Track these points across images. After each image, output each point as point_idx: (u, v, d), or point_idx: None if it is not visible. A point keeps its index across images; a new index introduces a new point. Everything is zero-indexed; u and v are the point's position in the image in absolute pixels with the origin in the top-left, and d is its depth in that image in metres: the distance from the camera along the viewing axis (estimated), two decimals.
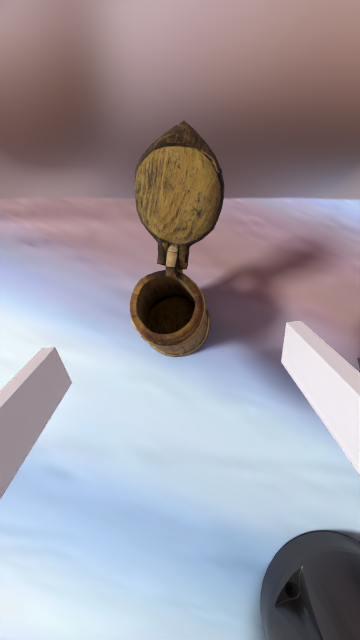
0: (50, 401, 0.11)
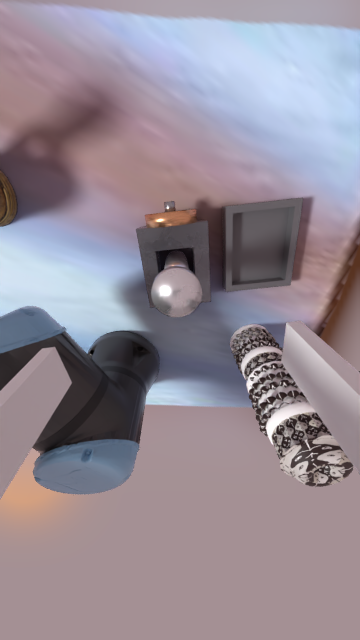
0: (50, 401, 0.11)
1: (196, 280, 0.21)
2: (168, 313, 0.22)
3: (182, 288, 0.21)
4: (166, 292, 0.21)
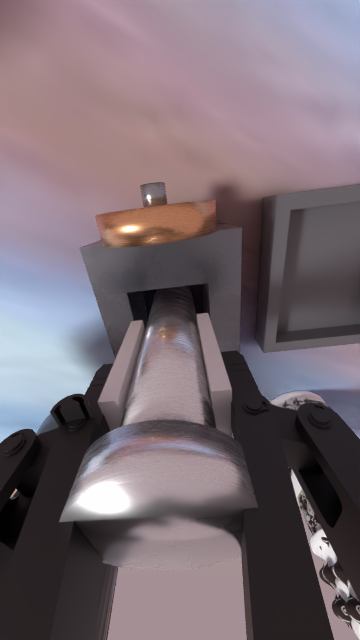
0: None
1: (250, 506, 0.05)
2: (138, 565, 0.06)
3: (188, 524, 0.05)
4: (122, 534, 0.05)
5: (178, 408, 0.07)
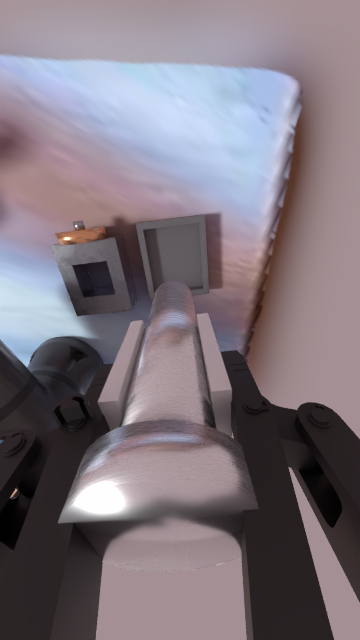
0: None
1: (250, 507, 0.05)
2: (138, 566, 0.06)
3: (187, 525, 0.05)
4: (122, 535, 0.05)
5: (178, 408, 0.07)
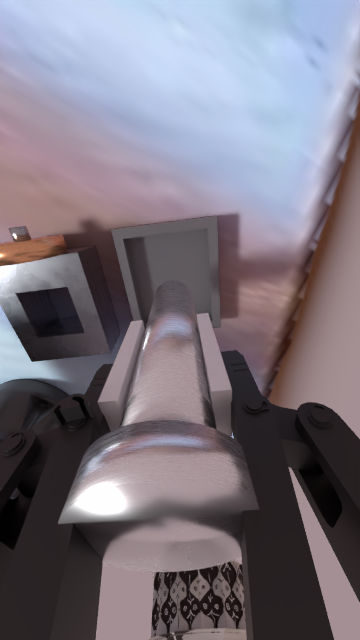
0: None
1: (251, 508, 0.05)
2: (138, 567, 0.06)
3: (188, 525, 0.05)
4: (122, 535, 0.05)
5: (178, 408, 0.07)
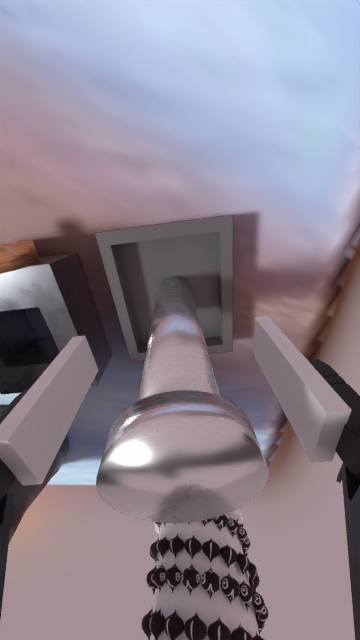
0: (83, 385, 0.12)
1: (254, 455, 0.06)
2: (158, 518, 0.07)
3: (203, 473, 0.06)
4: (149, 485, 0.06)
5: (190, 385, 0.08)
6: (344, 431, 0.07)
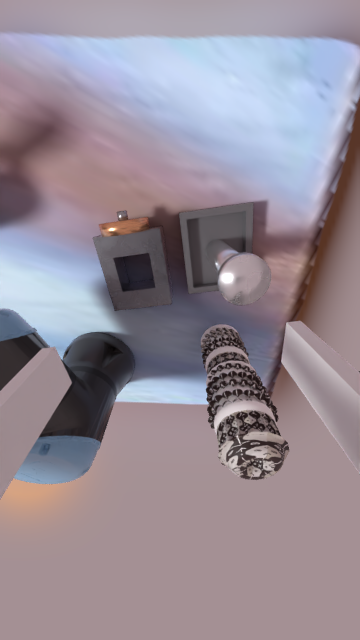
0: (50, 401, 0.11)
1: (267, 266, 0.20)
2: (234, 301, 0.22)
3: (251, 275, 0.21)
4: (235, 279, 0.21)
5: None
6: None
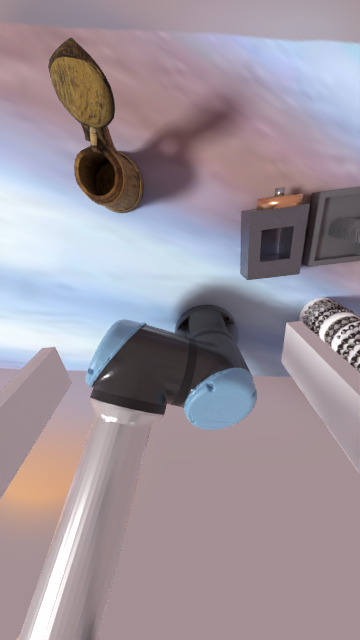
0: (50, 401, 0.11)
1: None
2: None
3: None
4: None
5: None
6: None
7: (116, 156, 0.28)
